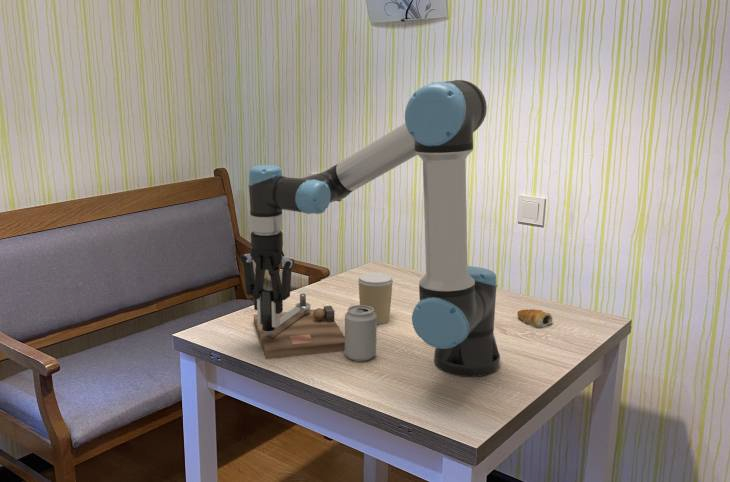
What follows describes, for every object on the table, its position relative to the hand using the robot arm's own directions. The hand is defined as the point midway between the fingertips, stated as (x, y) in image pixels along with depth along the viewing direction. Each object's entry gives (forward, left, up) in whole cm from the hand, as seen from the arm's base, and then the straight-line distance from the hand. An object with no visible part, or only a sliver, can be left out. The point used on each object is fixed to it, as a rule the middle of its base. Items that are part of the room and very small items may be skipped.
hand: (268, 323), depth 174 cm
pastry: (-3, -71, -6) cm, 71 cm away
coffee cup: (+10, -30, -6) cm, 32 cm away
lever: (+7, -6, -3) cm, 10 cm away
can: (-12, -20, -6) cm, 24 cm away
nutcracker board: (+4, -8, -6) cm, 11 cm away
